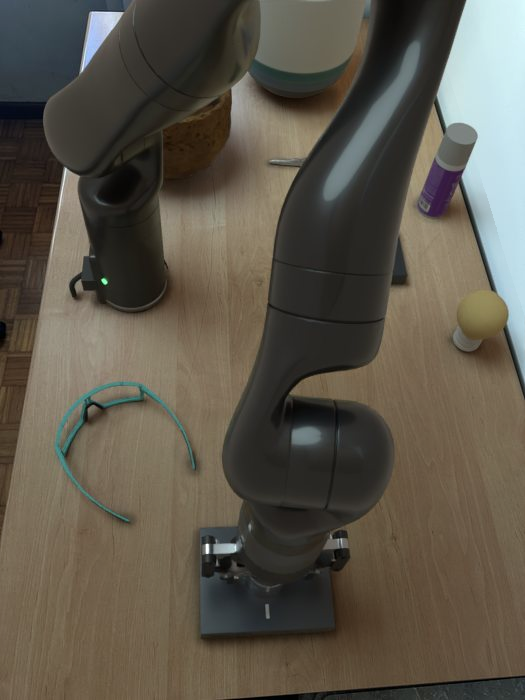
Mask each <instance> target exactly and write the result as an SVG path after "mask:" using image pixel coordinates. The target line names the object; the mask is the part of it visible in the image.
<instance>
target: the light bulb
mask: <svg viewBox="0 0 525 700" xmlns="http://www.w3.org/2000/svg"><path fill="white" fill-rule="evenodd" d="M509 316H510V315H509V308H508V305H507V303H506V301H505V300H504V299H503V298H502V297H501V296H500V295H499V294H498V293H497V292H495V291H493V290H491V289H478V290H474V291H472V292H470V293H468V294H466V295H465V296H464V297H462V299H461V301H459V304H458V306H457V308H456V322H457V324H458V326H457V327H456V329H455V331H454V332H453V334H452V341H453V344H454V345H455V346H456V348H458V349H459V350H461V351H463V352H468V353H469V352H474V351H475V350H477V349H478V348H479V347H480V345H481V344H482V342H483V341H484V340H487V339H490V338H493V337H496V336H497V335H499V334H500V333H501V332H502V331H503V330H504V328H506V326H507V323H508V320H509Z"/></svg>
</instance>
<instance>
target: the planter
mask: <svg viewBox="0 0 525 700" xmlns="http://www.w3.org/2000/svg"><path fill="white" fill-rule="evenodd" d="M366 4H367V0H260V11H261V28H260V40H259V45H258V50H257V53H256V56H255V58H254V61H253V63H252V65H251V67H250V69H249V70H248V71H247V73H249V75H250V77H252V79H253V80H254V81H255V82H256V83H257V84H259V85H260V86H261V87H262V88H263V89H265V90H267V91H268V92H270V93H272V94H274V95H277V96H281V97H283V98H290V99H303V98H308V97H313V96H316V95H318V94H320V93H323V92H324V91H326V90H328V89H329V88H331V87H332V86H334V85H335V83H337V82H338V81H339V79H341V77H342V76H343V74H344V73H345V71H346V69H347V68H348V66H349V64H350V62H351V59H352V57H353V54H354V51H355V48H356V45H357V41H358V37H359V34H360V30H361V25H362V22H363V18H364V14H365V13H364V12H365V9H366Z"/></svg>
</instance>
